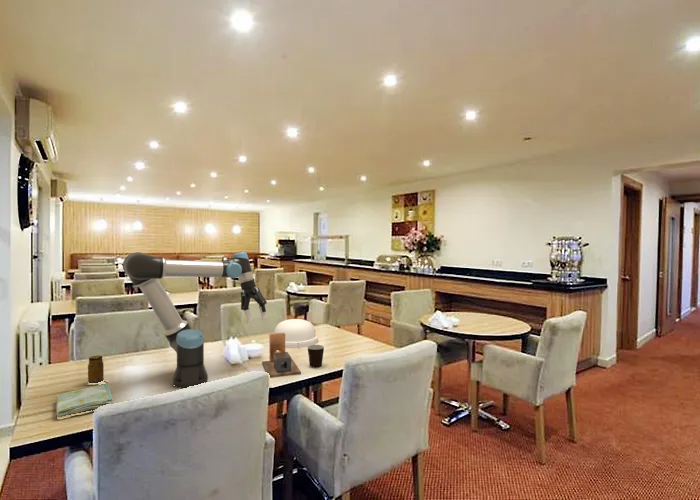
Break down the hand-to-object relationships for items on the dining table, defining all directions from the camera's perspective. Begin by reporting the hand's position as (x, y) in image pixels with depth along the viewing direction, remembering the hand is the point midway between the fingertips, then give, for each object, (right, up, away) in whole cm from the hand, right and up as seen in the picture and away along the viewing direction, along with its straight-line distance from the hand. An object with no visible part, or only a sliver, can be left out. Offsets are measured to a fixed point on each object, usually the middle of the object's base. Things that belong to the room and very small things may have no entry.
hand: (257, 320), depth 208 cm
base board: (+13, -24, -5) cm, 28 cm away
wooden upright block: (+12, -22, -1) cm, 25 cm away
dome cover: (+13, -23, +47) cm, 54 cm away
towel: (-58, -26, -50) cm, 81 cm away
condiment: (-67, -25, -26) cm, 76 cm away
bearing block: (+15, -23, -8) cm, 29 cm away
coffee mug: (+31, -24, +2) cm, 39 cm away
